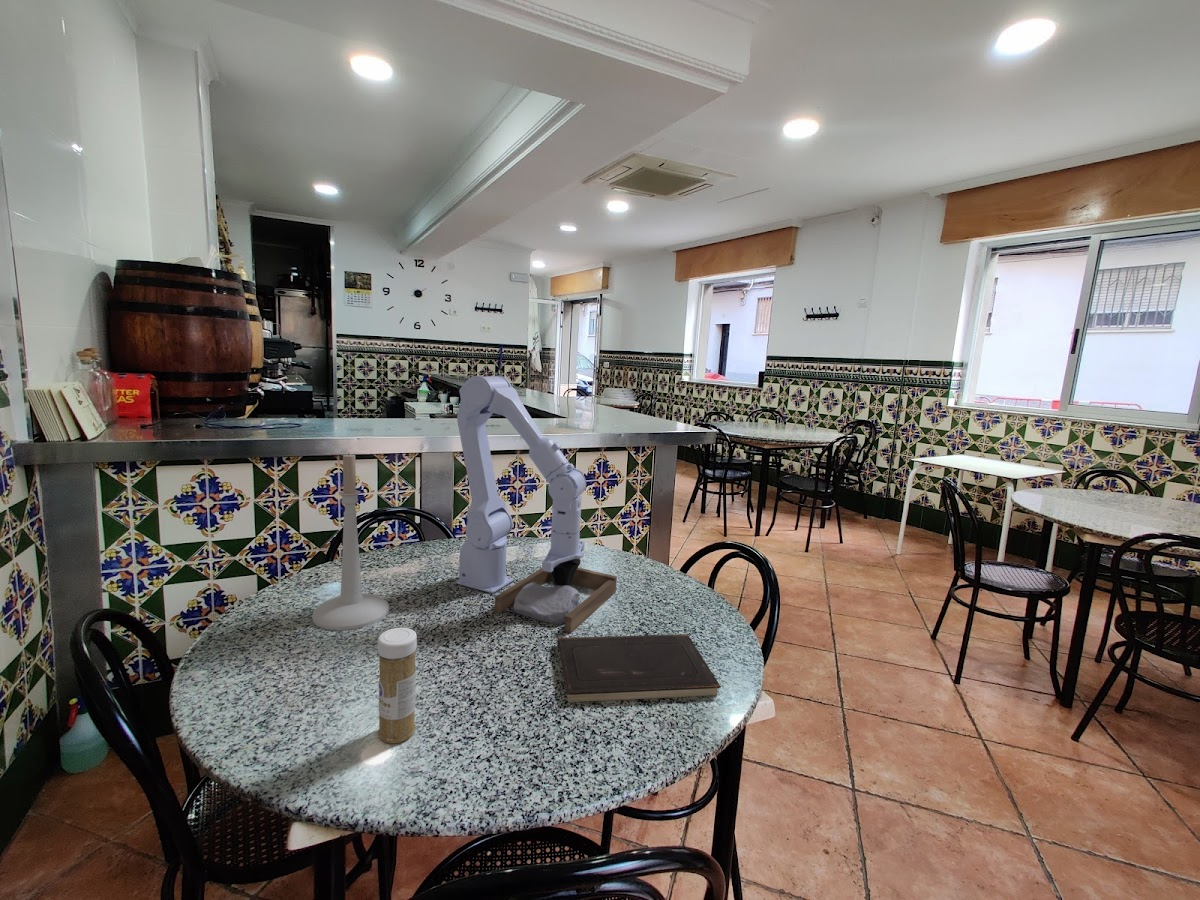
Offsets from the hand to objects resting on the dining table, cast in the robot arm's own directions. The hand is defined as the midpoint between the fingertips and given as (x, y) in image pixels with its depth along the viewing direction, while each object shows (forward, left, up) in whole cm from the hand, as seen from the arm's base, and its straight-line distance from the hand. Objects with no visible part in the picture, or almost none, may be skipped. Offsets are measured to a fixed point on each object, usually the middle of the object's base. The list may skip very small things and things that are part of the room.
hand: (562, 593), depth 111 cm
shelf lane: (0, -2, -1) cm, 2 cm away
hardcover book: (+22, -17, -2) cm, 28 cm away
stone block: (0, -7, -1) cm, 7 cm away
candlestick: (-30, -26, -1) cm, 40 cm away
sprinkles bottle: (+1, -46, -1) cm, 46 cm away
